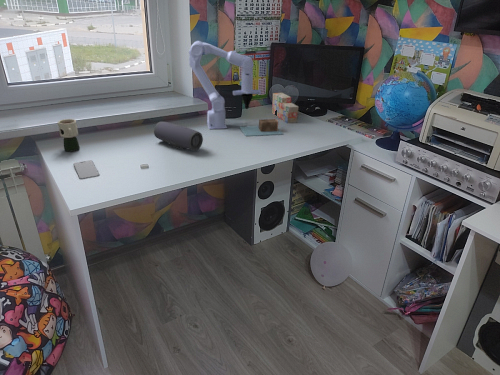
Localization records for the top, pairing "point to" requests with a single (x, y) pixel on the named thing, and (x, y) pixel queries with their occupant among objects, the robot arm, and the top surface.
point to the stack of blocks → (284, 107)
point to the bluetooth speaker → (178, 136)
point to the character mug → (69, 134)
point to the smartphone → (86, 169)
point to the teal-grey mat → (258, 131)
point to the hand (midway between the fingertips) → (246, 108)
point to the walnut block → (268, 125)
